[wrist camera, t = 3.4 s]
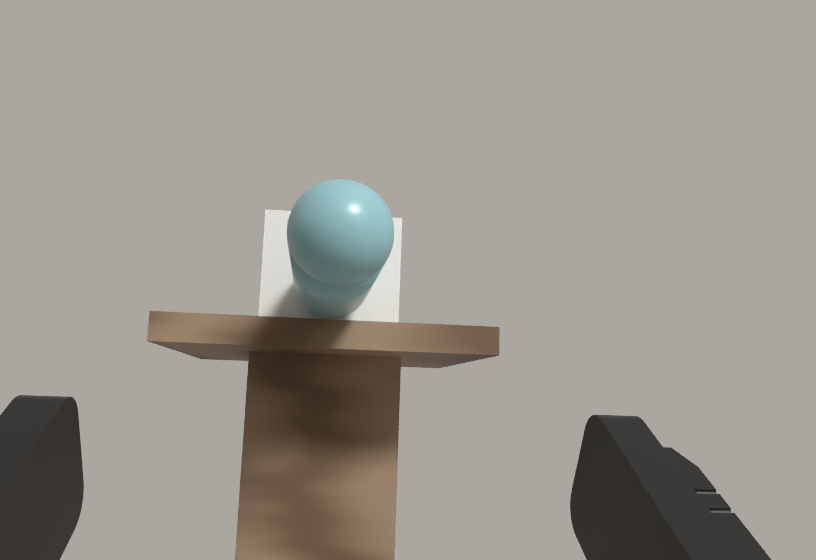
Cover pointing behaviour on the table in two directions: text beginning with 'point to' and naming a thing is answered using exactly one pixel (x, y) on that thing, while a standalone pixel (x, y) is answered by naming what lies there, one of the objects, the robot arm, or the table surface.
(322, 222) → the white block with ball
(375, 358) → the stand
